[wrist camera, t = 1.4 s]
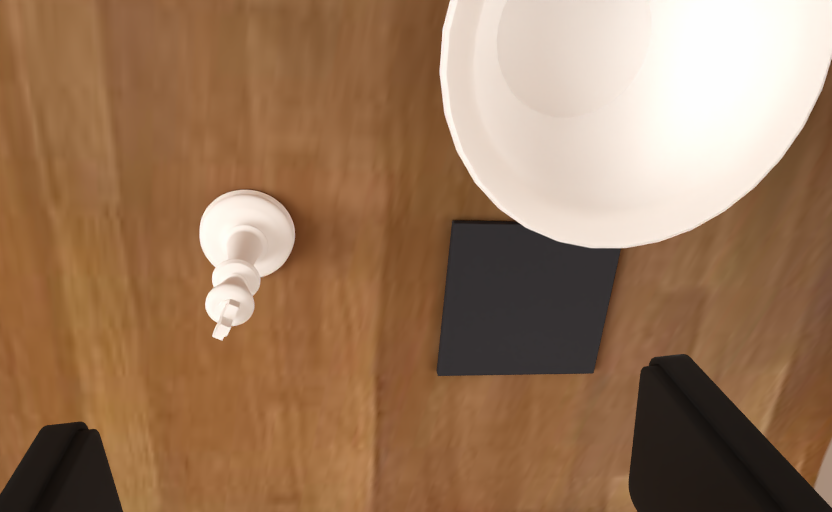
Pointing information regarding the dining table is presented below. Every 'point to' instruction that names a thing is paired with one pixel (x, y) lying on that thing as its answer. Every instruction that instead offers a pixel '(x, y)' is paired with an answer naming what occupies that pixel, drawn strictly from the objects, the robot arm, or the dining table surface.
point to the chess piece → (242, 251)
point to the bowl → (628, 107)
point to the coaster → (522, 302)
